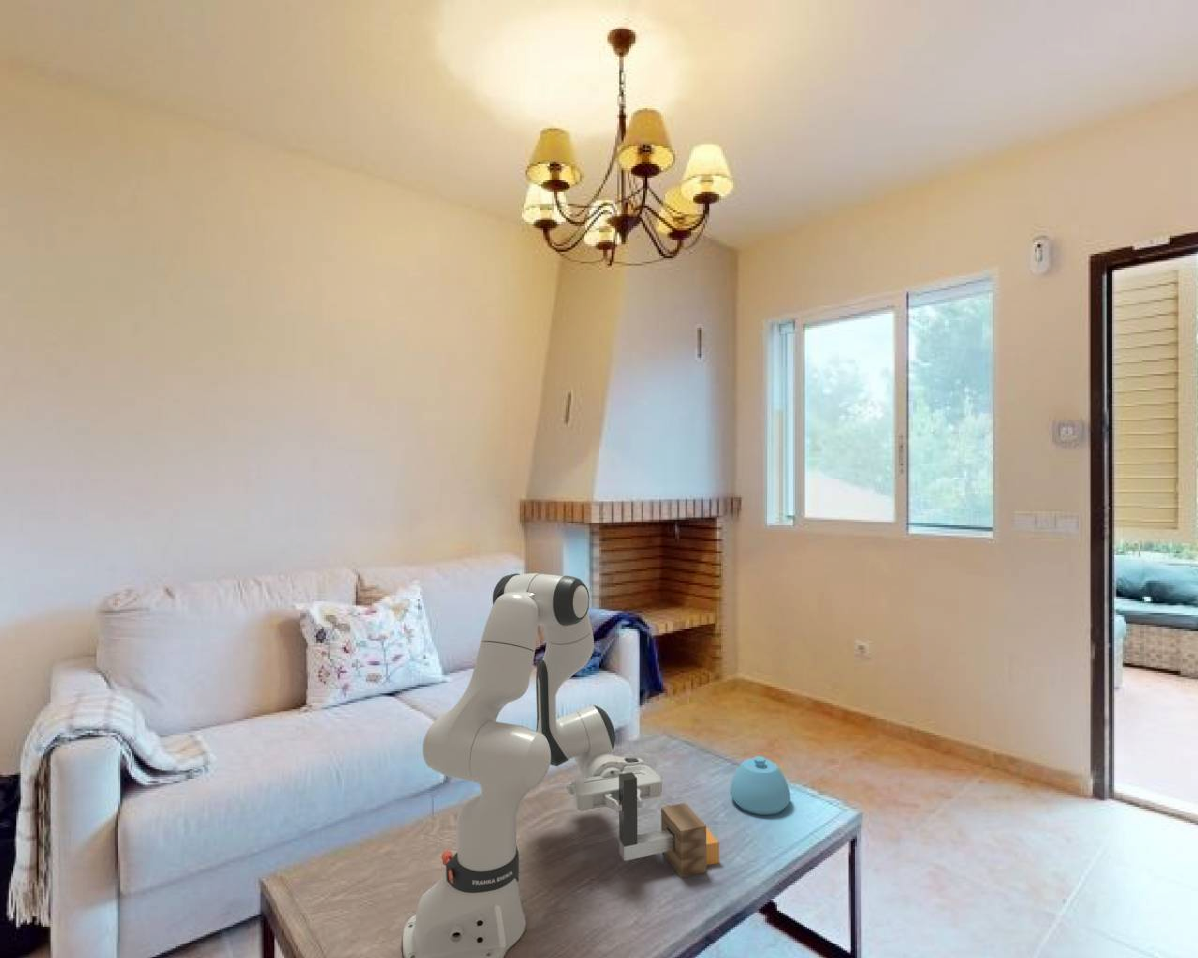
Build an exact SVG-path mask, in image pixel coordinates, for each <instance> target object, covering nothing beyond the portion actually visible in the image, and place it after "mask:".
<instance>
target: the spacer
mask: <svg viewBox="0 0 1198 958" xmlns="http://www.w3.org/2000/svg"><path fill="white" fill-rule="evenodd" d="M719 863H720V842H719V840H718V839H717V838H716V837H715V835H714V834H713V832H712V831H711V830H710V829H709V827H708V826H706V866H709V865H710V866H711V865H715V864H719Z"/></svg>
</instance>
